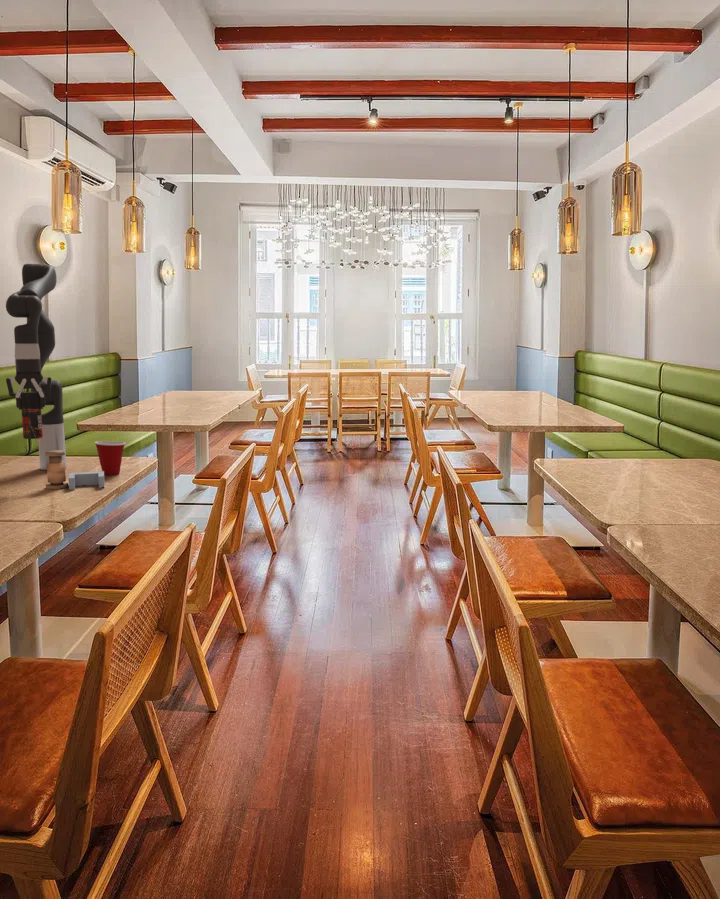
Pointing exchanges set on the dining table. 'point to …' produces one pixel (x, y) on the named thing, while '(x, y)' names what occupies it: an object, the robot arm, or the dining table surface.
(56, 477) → the bobbin
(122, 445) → the plastic cup
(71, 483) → the notch board
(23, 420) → the deodorant
